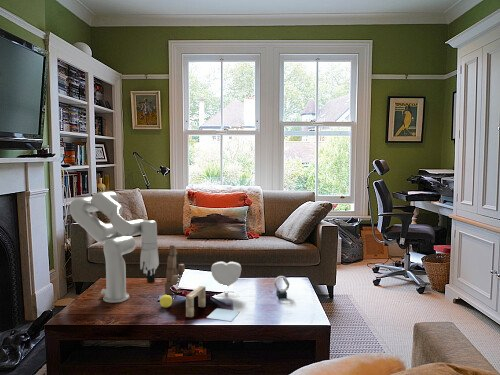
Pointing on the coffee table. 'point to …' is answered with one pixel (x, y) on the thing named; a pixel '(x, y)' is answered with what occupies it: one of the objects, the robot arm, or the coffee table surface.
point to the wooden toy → (172, 270)
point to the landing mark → (223, 314)
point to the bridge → (190, 300)
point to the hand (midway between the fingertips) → (150, 282)
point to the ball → (166, 301)
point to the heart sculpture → (226, 275)
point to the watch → (281, 293)
